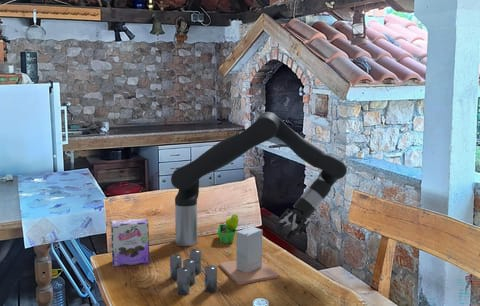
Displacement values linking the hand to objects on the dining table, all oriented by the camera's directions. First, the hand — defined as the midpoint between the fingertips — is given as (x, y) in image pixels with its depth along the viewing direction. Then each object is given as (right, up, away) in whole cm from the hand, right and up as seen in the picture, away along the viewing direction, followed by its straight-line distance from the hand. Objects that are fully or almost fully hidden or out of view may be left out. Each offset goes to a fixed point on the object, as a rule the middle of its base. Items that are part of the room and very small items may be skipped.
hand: (281, 235), depth 179 cm
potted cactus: (-20, -7, +29) cm, 37 cm away
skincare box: (-12, -12, -3) cm, 17 cm away
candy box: (-57, -11, +4) cm, 58 cm away
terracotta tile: (-12, -12, -3) cm, 18 cm away
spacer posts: (-33, -14, -13) cm, 38 cm away
